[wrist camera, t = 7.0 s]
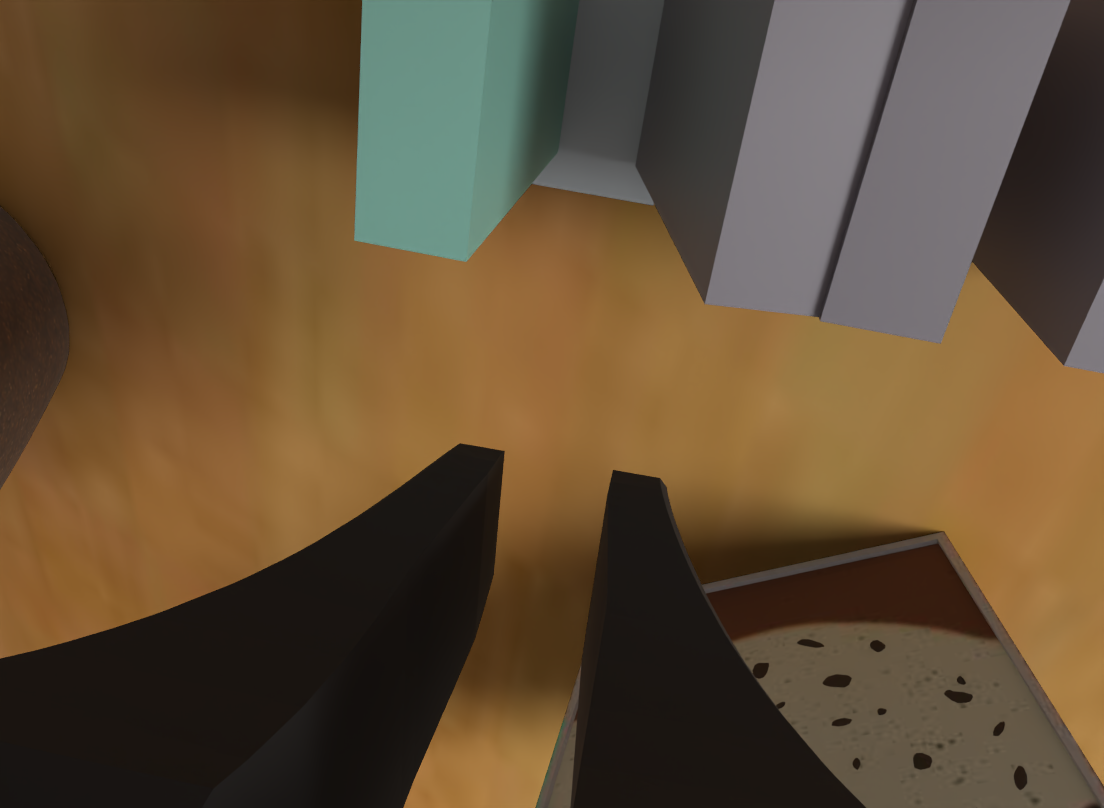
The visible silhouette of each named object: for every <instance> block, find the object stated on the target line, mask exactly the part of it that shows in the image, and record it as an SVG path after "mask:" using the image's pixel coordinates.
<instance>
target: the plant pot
mask: <svg viewBox="0 0 1104 808" xmlns="http://www.w3.org/2000/svg"><path fill="white" fill-rule="evenodd" d="M68 354H69V325H68V319H67V314H66V310H65V306H64V302H63V299H62V295H61V292H60V290H59V287H58V284H57V282H56V280H55V278H54V276H53V274H52V272H51V270H50V268H49V266H48V264H47V262H46V260H45V259H44V257H43V256H42V254H41V253H40V251H39V250H38V248H37V247H36V245H35V244H34V243H33V242H32V240H31V239H30V238H29V237H28V235H27V234H26V233H25V232H24V230H23V229H22V228H21V227H20V225H19V224H18V223H17V222H16V221H15V220H14V219H13V218H12V217H11V216H10V215H9V214H8V213H7V212H6V211H5V210H4V209H3V208H1V207H0V489H1V487H2V486H3V484H4V482H5V481H6V479H7V478H8V476H9V474H10V473H11V471H12V469H13V468H14V466H15V464H16V462H17V461H18V459H19V457H20V455H21V454H22V452H23V450H24V448H25V447H26V445H27V443H28V441H29V440H30V438H31V436H32V434H33V432H34V430H35V428H36V426H37V425H38V423H39V421H40V419H41V417H42V415H43V413H44V411H45V409H46V407H47V406H48V404H49V402H50V400H51V398H52V396H53V394H54V392H55V390H56V388H57V386H58V384H59V382H60V380H61V377H62V375H63V373H64V370H65V367H66V363H67V359H68Z"/></svg>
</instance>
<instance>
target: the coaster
mask: <svg viewBox="0 0 1104 808" xmlns="http://www.w3.org/2000/svg"><path fill="white" fill-rule="evenodd" d="M663 6H664V0H579V7H578V14H577V21H576V28H575V35H574V42H573V49H572V57H571V64H570V71H569V78H568V85H567V92H566V99H565V107H564V114H563V121H562V128H561V135H560V142H559V149H558V153H557V154H556V155H555V157H554V158H553V159H552V160H551V161H550V163H549V164H548V165H547V166H546V167H545V168H544V170H543V171H542V172H541V173H540V174H539V176H538V177H537V178H536V179H535V180H534V182H533V183H532V184H535V185H541V186H546V187H552V188H558V189H563V190H569V191H574V192H580V193H586V194H591V195H597V196H603V197H608V198H614V199H619V200H625V201H631V202H636V203H642V204H647V205H654V202H653V200H652V198H651V196H650V194H649V192H648V190H647V188H646V186H645V184H644V182H643V180H642V178H641V176H640V174H639V172H638V171H637V169H636V167H635V165H636V159H637V154H638V148H639V142H640V137H641V131H642V125H643V120H644V114H645V108H646V103H647V97H648V91H649V86H650V80H651V74H652V69H653V63H654V57H655V51H656V46H657V40H658V34H659V29H660V23H661V17H662V12H663Z"/></svg>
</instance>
